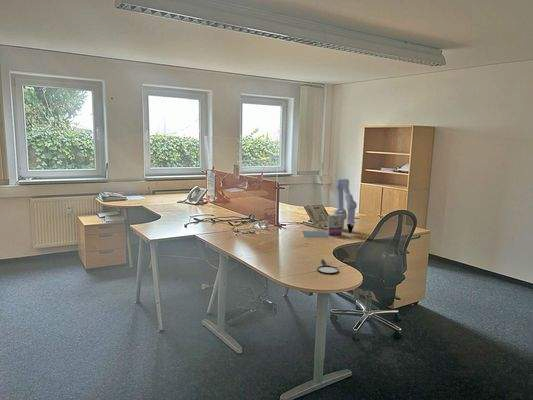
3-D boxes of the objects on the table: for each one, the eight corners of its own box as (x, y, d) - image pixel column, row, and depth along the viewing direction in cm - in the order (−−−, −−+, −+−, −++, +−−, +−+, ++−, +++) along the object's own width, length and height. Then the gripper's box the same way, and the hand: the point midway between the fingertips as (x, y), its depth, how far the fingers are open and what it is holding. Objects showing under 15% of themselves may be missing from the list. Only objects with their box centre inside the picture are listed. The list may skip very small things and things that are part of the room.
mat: (302, 231, 343) (302, 230, 343) (324, 232, 344) (324, 231, 343) (304, 237, 324) (304, 236, 324) (328, 238, 324) (328, 237, 324)
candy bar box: (338, 233, 338) (340, 214, 335) (341, 235, 333) (342, 215, 330) (326, 234, 335) (327, 214, 332) (328, 235, 330) (329, 215, 327)
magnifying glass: (332, 262, 260) (332, 259, 259) (340, 276, 236) (340, 272, 236) (312, 262, 259) (312, 259, 259) (319, 275, 235) (319, 272, 235)
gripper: (357, 218, 324) (356, 235, 326) (353, 215, 339) (353, 231, 341) (349, 218, 324) (348, 234, 326) (345, 214, 339) (344, 230, 341)
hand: (350, 232), depth 333 cm, fingers closed
